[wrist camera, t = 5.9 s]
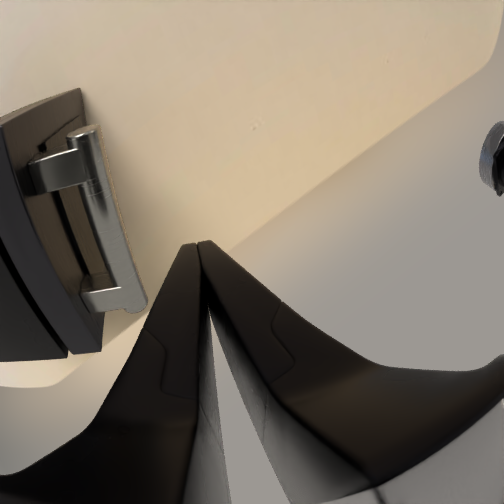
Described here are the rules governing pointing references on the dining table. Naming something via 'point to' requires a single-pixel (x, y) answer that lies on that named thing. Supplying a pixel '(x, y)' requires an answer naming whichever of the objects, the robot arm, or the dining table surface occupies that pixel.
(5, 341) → the oven
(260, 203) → the dining table surface
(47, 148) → the oven door
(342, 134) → the dining table surface
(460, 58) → the dining table surface
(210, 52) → the dining table surface
